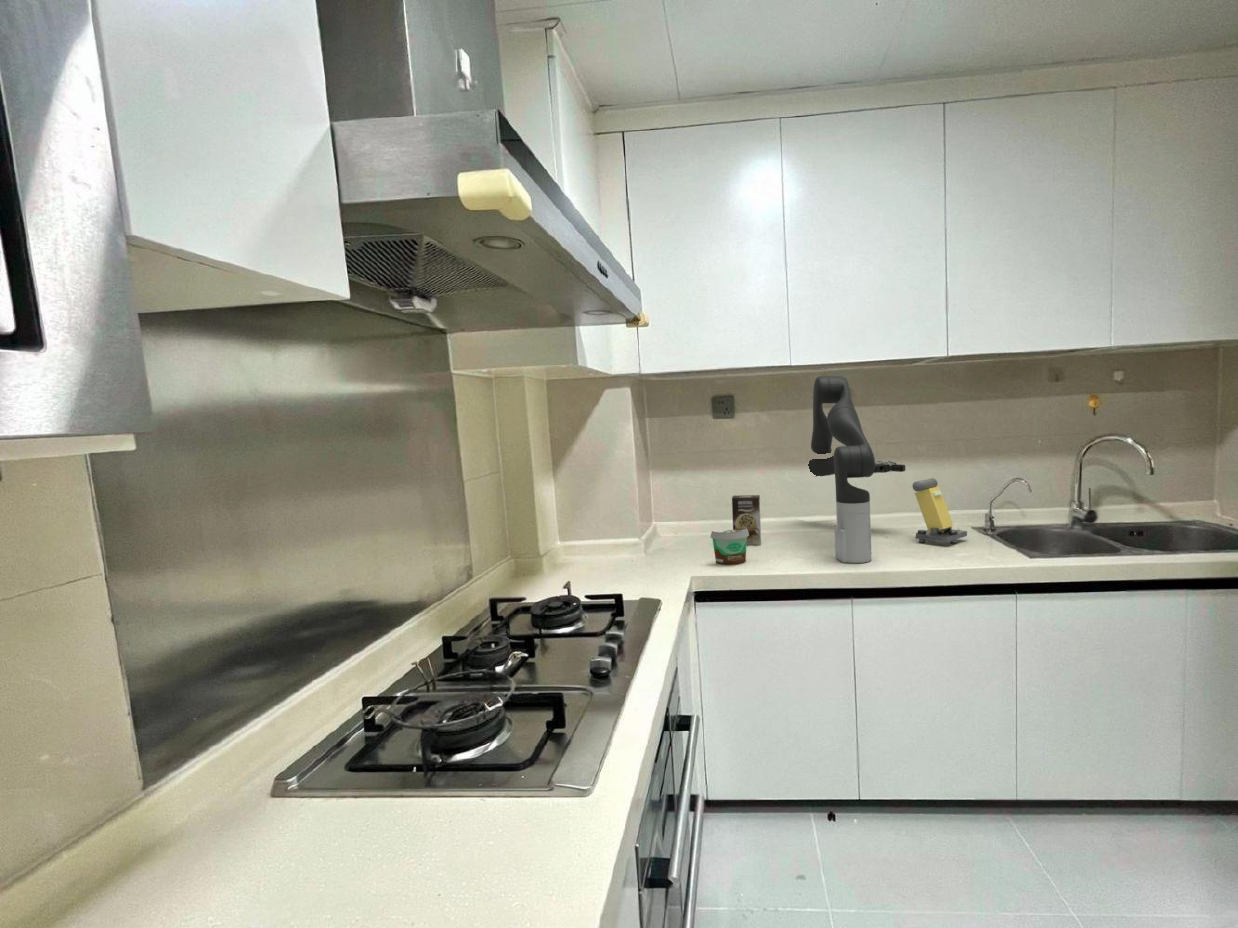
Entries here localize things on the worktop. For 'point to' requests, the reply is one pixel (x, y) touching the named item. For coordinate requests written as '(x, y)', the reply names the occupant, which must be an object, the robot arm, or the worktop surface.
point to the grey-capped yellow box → (932, 505)
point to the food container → (730, 546)
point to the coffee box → (747, 516)
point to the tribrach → (940, 535)
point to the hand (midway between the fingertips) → (904, 468)
